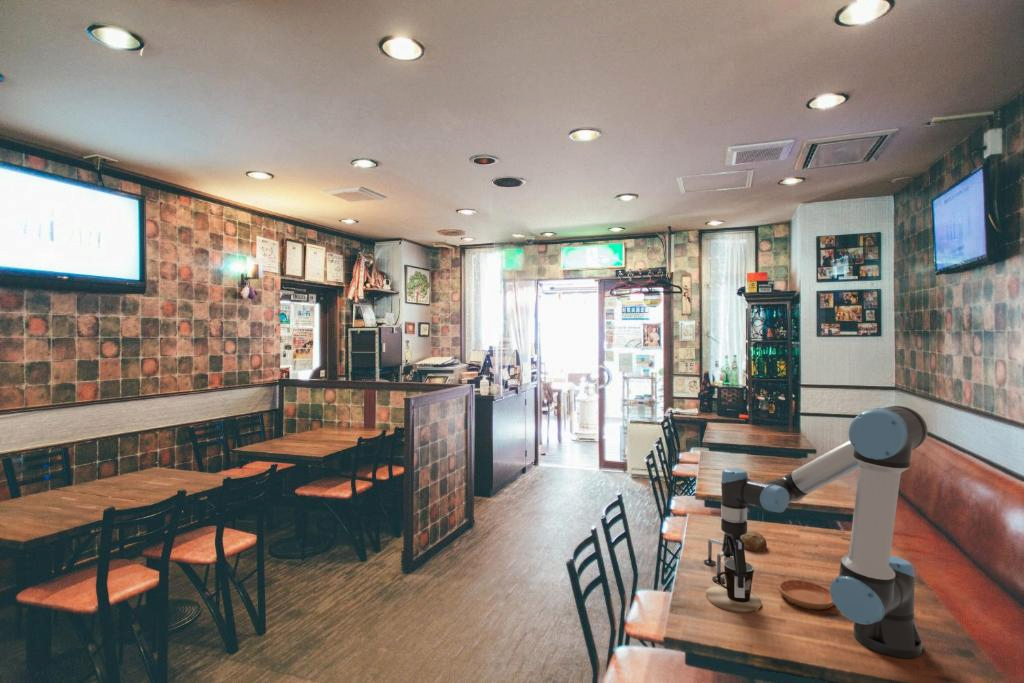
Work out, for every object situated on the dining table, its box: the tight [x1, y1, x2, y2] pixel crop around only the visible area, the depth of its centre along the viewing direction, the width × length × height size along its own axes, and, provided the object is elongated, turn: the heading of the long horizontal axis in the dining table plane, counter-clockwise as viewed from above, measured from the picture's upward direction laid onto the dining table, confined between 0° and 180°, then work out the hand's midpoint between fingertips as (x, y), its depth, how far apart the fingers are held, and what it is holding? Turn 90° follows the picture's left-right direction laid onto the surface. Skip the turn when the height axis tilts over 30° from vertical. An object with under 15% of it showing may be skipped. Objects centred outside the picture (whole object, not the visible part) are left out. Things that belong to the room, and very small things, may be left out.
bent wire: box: [703, 537, 740, 584], centre depth 187 cm, size 18×12×9 cm, turn 171°
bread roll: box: [740, 530, 768, 552], centre depth 211 cm, size 10×10×8 cm
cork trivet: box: [705, 584, 762, 614], centre depth 168 cm, size 16×16×1 cm
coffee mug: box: [717, 560, 755, 602], centre depth 168 cm, size 12×9×10 cm
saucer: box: [778, 579, 835, 611], centre depth 168 cm, size 16×16×3 cm
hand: (733, 587), depth 168 cm, fingers open, 13 cm apart
